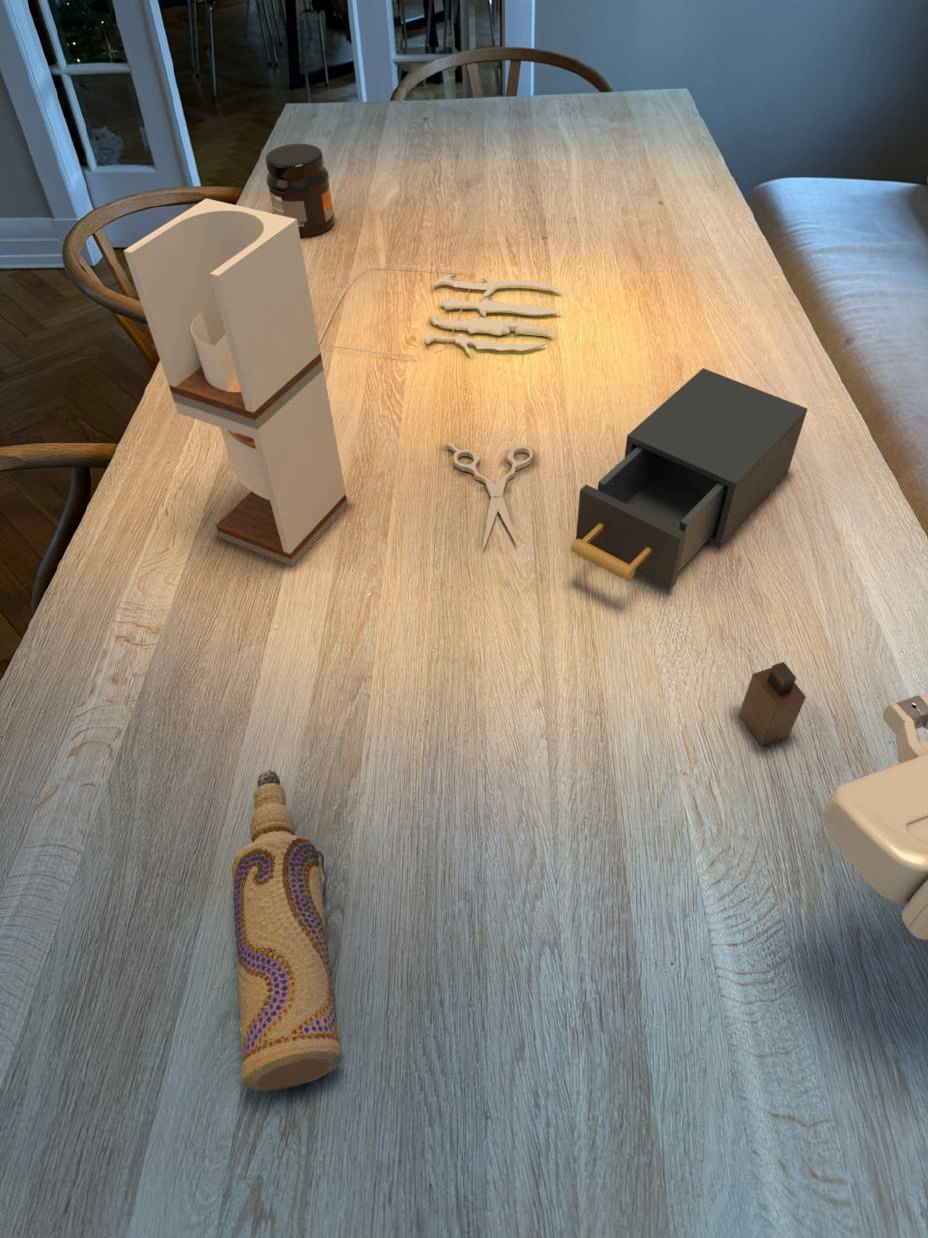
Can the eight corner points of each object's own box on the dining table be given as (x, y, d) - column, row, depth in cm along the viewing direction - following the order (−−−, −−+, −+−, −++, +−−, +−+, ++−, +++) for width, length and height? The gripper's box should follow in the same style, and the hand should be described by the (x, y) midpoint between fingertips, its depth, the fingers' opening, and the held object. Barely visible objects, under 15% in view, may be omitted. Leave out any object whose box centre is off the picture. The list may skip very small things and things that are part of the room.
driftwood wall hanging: (547, 371, 124) (547, 364, 123) (311, 351, 129) (310, 344, 129) (570, 280, 140) (571, 273, 139) (360, 265, 146) (359, 259, 145)
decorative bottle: (353, 1076, 65) (339, 1051, 60) (251, 1100, 65) (228, 1077, 60) (319, 779, 82) (306, 740, 77) (237, 796, 81) (219, 757, 76)
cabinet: (719, 548, 100) (736, 483, 93) (618, 499, 106) (627, 435, 99) (787, 473, 108) (807, 408, 101) (690, 432, 114) (702, 367, 107)
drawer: (644, 619, 92) (654, 567, 86) (549, 566, 98) (551, 514, 92) (740, 514, 102) (754, 461, 96) (649, 472, 108) (657, 419, 102)
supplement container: (341, 212, 159) (331, 142, 150) (327, 240, 152) (316, 168, 143) (285, 210, 161) (272, 140, 151) (268, 238, 154) (254, 166, 145)
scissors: (530, 437, 113) (547, 545, 100) (530, 442, 114) (547, 550, 101) (448, 442, 113) (454, 550, 100) (448, 447, 114) (454, 555, 100)
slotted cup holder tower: (277, 481, 111) (206, 198, 84) (348, 506, 107) (296, 218, 81) (220, 538, 104) (123, 250, 78) (293, 566, 101) (217, 275, 74)
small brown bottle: (788, 737, 83) (812, 683, 77) (761, 747, 83) (782, 693, 76) (765, 705, 86) (786, 650, 79) (738, 714, 85) (757, 659, 79)
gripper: (1204, 794, 55) (1038, 635, 63) (928, 906, 51) (791, 720, 59) (1148, 841, 59) (1001, 687, 68) (892, 947, 55) (770, 770, 64)
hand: (901, 703), depth 64 cm, fingers closed
